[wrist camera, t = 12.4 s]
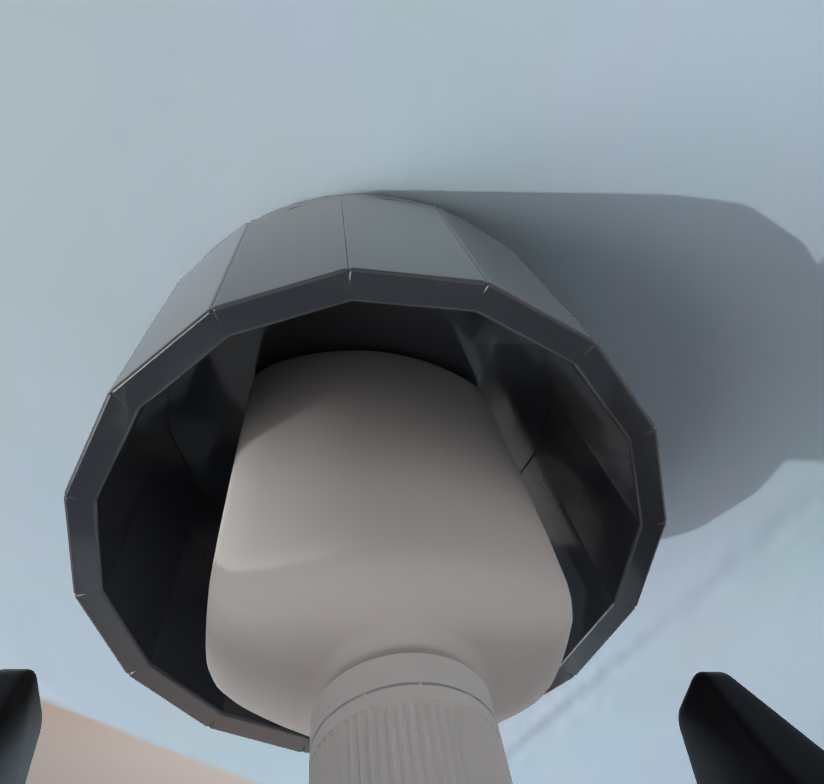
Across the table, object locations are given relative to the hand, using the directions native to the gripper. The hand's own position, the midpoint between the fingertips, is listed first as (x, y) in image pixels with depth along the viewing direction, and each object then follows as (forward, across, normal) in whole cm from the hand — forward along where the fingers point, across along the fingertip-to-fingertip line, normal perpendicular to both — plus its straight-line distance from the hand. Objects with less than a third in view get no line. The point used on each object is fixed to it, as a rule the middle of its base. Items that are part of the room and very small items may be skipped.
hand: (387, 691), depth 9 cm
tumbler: (+9, 0, 0) cm, 9 cm away
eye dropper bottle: (+9, 0, 0) cm, 9 cm away
